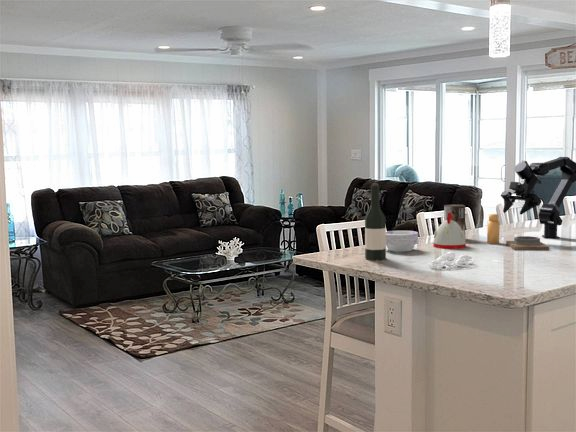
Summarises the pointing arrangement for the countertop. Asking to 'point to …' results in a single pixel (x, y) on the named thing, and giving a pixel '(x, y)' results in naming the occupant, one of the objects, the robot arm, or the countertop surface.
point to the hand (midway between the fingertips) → (512, 213)
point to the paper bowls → (401, 240)
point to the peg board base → (527, 243)
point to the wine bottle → (375, 229)
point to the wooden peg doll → (493, 229)
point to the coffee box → (456, 214)
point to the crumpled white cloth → (450, 261)
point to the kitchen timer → (449, 235)
